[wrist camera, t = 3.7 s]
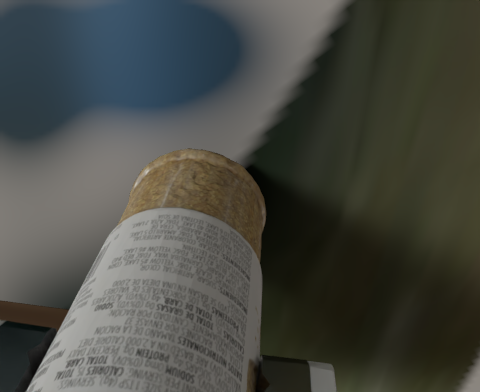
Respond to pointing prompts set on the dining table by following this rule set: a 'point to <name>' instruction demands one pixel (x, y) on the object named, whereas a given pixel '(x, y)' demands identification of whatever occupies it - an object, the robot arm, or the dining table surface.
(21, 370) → the robot arm
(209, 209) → the sprinkles bottle
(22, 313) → the walnut socket block
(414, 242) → the dining table surface
